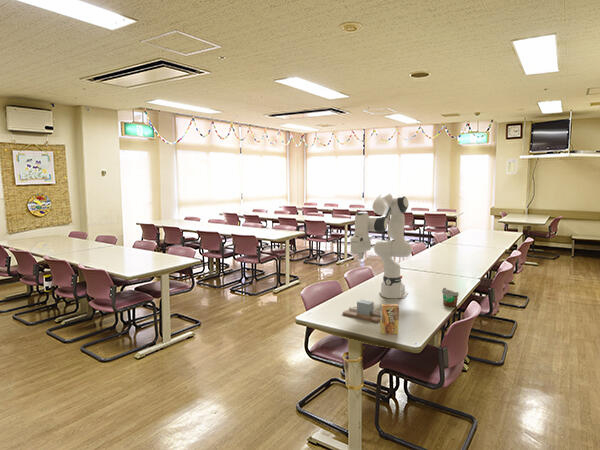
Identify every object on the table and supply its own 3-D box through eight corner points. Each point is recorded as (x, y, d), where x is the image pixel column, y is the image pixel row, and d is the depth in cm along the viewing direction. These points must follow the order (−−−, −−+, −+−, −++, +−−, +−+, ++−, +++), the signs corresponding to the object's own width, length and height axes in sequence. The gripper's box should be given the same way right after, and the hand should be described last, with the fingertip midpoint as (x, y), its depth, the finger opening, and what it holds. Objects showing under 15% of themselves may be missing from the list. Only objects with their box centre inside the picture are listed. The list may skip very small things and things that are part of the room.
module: (361, 310, 239) (361, 299, 238) (373, 313, 234) (373, 301, 233) (356, 313, 234) (356, 301, 234) (368, 316, 229) (368, 304, 228)
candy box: (396, 331, 210) (396, 303, 208) (398, 334, 206) (399, 306, 204) (379, 331, 209) (380, 303, 208) (381, 334, 205) (382, 306, 203)
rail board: (354, 308, 247) (354, 304, 246) (387, 316, 233) (388, 311, 232) (342, 314, 236) (342, 310, 235) (377, 323, 222) (377, 318, 221)
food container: (437, 303, 258) (437, 288, 257) (444, 302, 261) (445, 287, 259) (450, 308, 247) (451, 293, 246) (458, 307, 249) (458, 292, 248)
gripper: (364, 235, 257) (364, 255, 258) (348, 238, 241) (348, 260, 242) (373, 236, 253) (373, 257, 255) (357, 239, 237) (357, 262, 238)
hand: (361, 258), depth 248 cm, fingers closed
